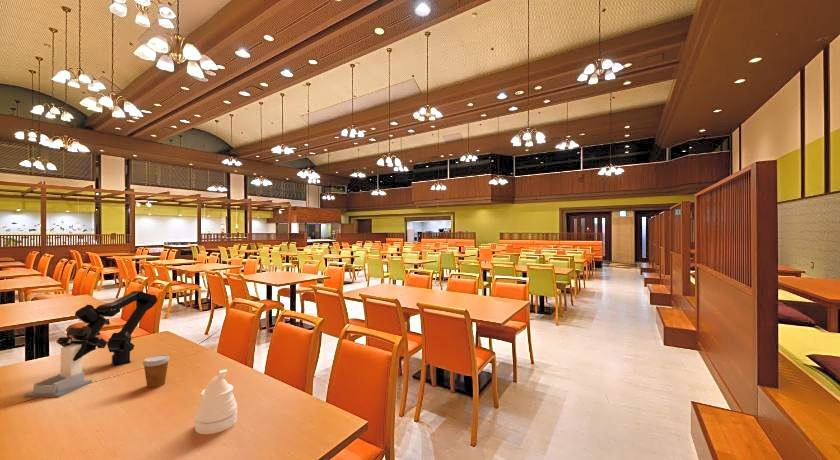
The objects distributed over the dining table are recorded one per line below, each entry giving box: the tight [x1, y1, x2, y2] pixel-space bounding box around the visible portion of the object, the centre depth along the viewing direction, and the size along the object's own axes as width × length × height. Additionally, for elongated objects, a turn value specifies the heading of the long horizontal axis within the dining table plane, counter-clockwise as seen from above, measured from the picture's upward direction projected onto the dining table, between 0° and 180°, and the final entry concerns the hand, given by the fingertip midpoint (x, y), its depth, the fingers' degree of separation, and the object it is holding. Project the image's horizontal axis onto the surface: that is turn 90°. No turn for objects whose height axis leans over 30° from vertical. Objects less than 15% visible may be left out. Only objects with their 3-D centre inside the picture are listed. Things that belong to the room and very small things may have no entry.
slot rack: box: [24, 371, 93, 398], centre depth 147 cm, size 14×14×5 cm
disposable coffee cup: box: [142, 354, 171, 389], centre depth 152 cm, size 10×10×12 cm
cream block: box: [59, 344, 83, 378], centre depth 151 cm, size 5×4×12 cm
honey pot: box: [194, 369, 238, 435], centre depth 121 cm, size 13×13×18 cm
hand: (68, 360), depth 150 cm, fingers closed on cream block, 4 cm apart
